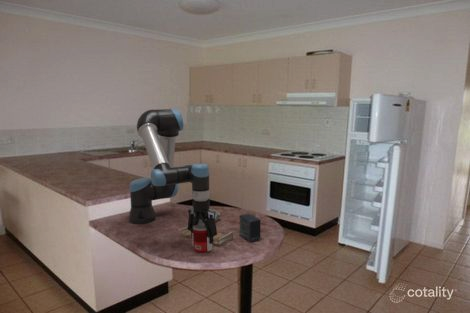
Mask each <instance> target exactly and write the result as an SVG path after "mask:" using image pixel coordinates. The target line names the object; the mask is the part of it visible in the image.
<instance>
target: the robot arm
mask: <svg viewBox="0 0 470 313" xmlns="http://www.w3.org/2000/svg"><path fill="white" fill-rule="evenodd" d="M183 129H184V119H183V116H182V114H181V112H180V110H178V109H177V108H176V109H175V108H173V109H172V108H169V109H168V108H167V109H161V108H160V109H148V110H146V111H144V112H143V113H142V114H141V115H140V116H139V118H138V120H137V123H136V130H137V134H138V136H139V137H140V138H142V141H143V145H144V147H145V149H146V153H147V156H148V158H149V161H150V163H151V167H152V170H151V172H150V177H142V178H137V179H134V180H132V181H131V182H130V183H129V196H130V197H129V198H130V210H129V215H128V222H129V223H131V224H135V225H137V224H138V225H140V224H143V225H144V224H148V223H151V222H154V221H155V220H156V219H157V216H156V212H155V209H154V208H153V202H152V201H156V200H164V199H170V198H174V197H176V195H178V191H179V185H180V184H187V183H191V188H192V189H191V191H192V208H190V209H189V210H187V212H188V221H187V226H188V230H190V231H191V238H192V239H191V240H192V241H193V226H195V225H197V224H198V223H199V220H202V221H203V223H204V225H205V228H206V230H207V233H208V237H207V251H208V252H210V251H212V250H213V245H212V243H213V237H214V236H216V235H217V233H218V231H217V222H215V213H213V214H212V213H210V211H209V209H210V207H211V204H210V202H211V201H210V198H211V197H210V195H211V194H210V168H209V165H208V164H206V163H194V164H183V166H175V164H174V163H175V149H176V138H178V136H179V132H181V131H183ZM174 166H175V167H174ZM194 214H195V217H194ZM205 219H206V220H205ZM192 248H194V243H193V242H192Z"/></svg>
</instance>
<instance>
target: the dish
mask: <svg viewBox="0 0 470 313" xmlns="http://www.w3.org/2000/svg"><path fill="white" fill-rule="evenodd" d="M209 211H210V213H212V214H213V213H215V223H217V222H218V221H219V218H221V213H220V212H218V210H216V209H211V208H209ZM194 217H195V214H194ZM205 220H206V219H205ZM200 223H203V221H202V220H199V223H198V224H200Z"/></svg>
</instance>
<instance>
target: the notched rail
mask: <svg viewBox="0 0 470 313" xmlns="http://www.w3.org/2000/svg"><path fill="white" fill-rule="evenodd" d="M180 236H181V237H183V238H186V239H190V240H192V238H191V231H190V230H188V225H187V226H186V227H183V228H181V229H180ZM233 239H234V232H233V231H230V232H228V233H227V234H224V233H221V232H217V235H216V236H214V237H213V243H212V246H214V247H217V248H221V247H222V246H224V245H225V244H227V243H228V242H229V243H230V242H231V241H232V240H233Z"/></svg>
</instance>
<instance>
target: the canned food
mask: <svg viewBox="0 0 470 313" xmlns="http://www.w3.org/2000/svg"><path fill="white" fill-rule="evenodd" d="M207 237H208V233H207V230H206V228H205V225H204V223H200V224H197V225H195V226H193V240H192V244H193V243H194V247H193V251H194V252H196V253H199V254H204V253H208V252H209V251H207Z"/></svg>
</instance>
